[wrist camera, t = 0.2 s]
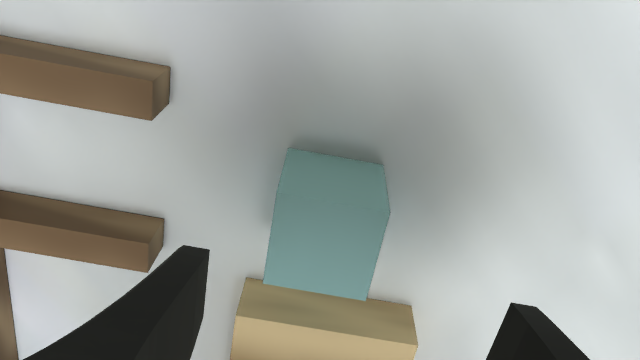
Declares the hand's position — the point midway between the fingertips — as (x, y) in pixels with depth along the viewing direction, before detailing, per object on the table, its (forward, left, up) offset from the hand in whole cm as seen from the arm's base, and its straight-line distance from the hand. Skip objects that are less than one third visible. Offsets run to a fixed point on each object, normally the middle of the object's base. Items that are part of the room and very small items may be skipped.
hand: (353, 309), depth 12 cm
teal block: (-3, +1, -10) cm, 10 cm away
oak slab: (-12, 0, -10) cm, 16 cm away
